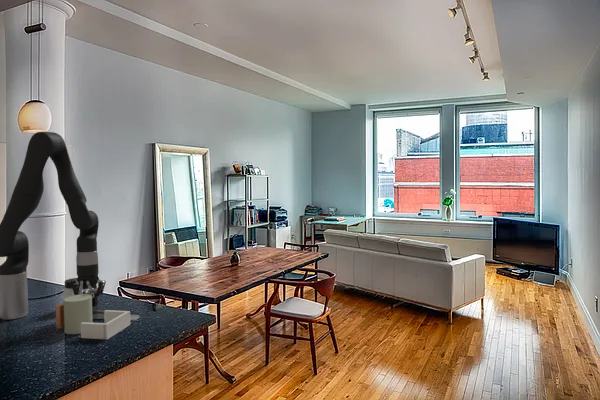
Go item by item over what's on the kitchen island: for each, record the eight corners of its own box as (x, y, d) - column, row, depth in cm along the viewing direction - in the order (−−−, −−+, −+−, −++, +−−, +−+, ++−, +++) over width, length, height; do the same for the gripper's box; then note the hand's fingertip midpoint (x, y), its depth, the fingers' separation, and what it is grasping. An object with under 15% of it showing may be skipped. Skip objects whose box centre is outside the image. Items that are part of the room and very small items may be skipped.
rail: (72, 317, 165) (72, 315, 165) (78, 314, 168) (77, 312, 168) (135, 320, 161) (135, 318, 161) (139, 317, 164) (139, 315, 164)
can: (99, 326, 155) (98, 294, 154) (78, 335, 146) (77, 301, 145) (79, 323, 158) (78, 292, 157) (58, 332, 149) (56, 298, 148)
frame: (81, 337, 144) (80, 323, 144) (106, 323, 158) (106, 310, 158) (107, 339, 142) (106, 324, 142) (130, 324, 157) (130, 311, 156)
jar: (65, 313, 170) (64, 283, 170) (63, 307, 177) (62, 279, 176) (90, 309, 175) (89, 280, 174) (87, 304, 182) (86, 276, 181)
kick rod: (55, 328, 150) (55, 306, 150) (88, 312, 168) (87, 292, 167) (87, 329, 149) (86, 307, 148) (116, 313, 166) (115, 293, 166)
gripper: (63, 264, 162) (65, 308, 163) (98, 265, 160) (99, 310, 160) (77, 260, 169) (78, 302, 170) (110, 261, 167) (111, 304, 168)
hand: (88, 306), depth 165 cm, fingers closed on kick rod, 4 cm apart
